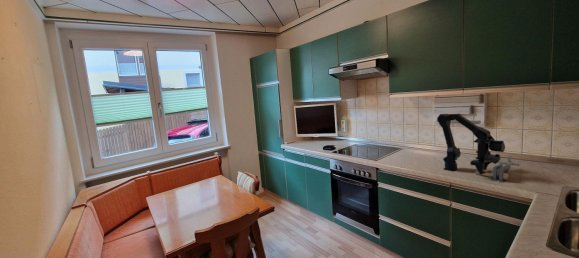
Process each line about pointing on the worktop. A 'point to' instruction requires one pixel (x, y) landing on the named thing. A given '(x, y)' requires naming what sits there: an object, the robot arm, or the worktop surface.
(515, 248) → the worktop surface
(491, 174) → the tube
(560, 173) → the worktop surface
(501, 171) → the firebox collars
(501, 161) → the pipe connector
